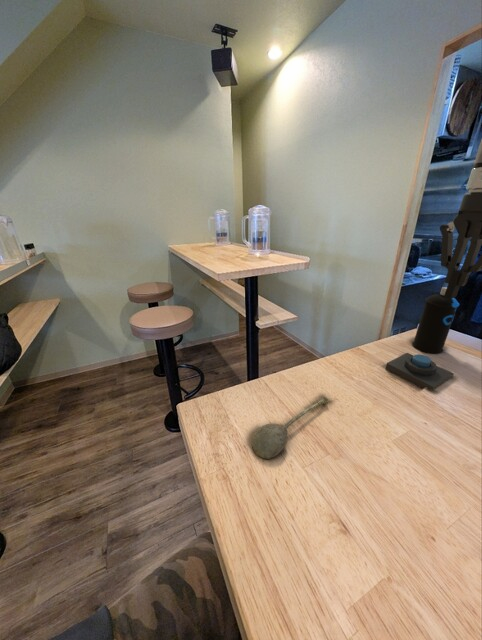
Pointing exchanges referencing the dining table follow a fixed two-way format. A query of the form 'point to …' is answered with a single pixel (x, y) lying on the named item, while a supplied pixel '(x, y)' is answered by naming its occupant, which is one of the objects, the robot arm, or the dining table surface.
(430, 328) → the aerosol can
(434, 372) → the button housing
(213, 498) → the dining table surface
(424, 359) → the push top
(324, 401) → the soupspoon
